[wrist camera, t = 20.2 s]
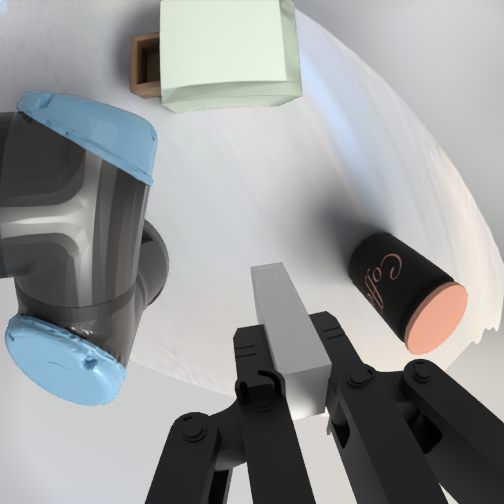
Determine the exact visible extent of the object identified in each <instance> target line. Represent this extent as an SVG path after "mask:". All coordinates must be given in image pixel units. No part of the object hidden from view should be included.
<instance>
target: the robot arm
mask: <svg viewBox="0 0 504 504" xmlns="http://www.w3.org/2000/svg"><path fill="white" fill-rule="evenodd" d="M17 109H19V111H18V112H2V113H0V278H8V277H9V278H10V277H14V281H15V288H16V294H17V299H18V305H19V308H18V313H17V314H16V315H15V316H14V317H12V318H11V319H10V320H9V323H8V327H7V329H6V332H5V342H6V346H7V349H8V351H9V354H10V355H11V357H12V359H13V360H14V362H15V363H16V364H17V366H18V367H19V368H20V369H21V370H22V371H23V373H24V374H26V375H27V376H28V377H29V378H30V379H31V380H32V381H33V382H35V383H36V384H37V385H39V386H40V387H41V388H43V389H45V390H46V391H48V392H50V393H51V394H54V395H55V396H57V397H59V398H62V399H64V400H67V401H70V402H73V403H76V404H80V405H87V406H97V405H104V404H107V403H109V402H111V401H113V400H114V399H115V398H116V396H117V395H118V393H119V391H120V387H121V385H122V382H123V381H124V380H125V378H126V375H127V373H126V367H127V363H128V360H129V356H130V353H131V349H132V346H133V342H134V339H135V335H136V332H137V329H138V325H139V322H140V319H141V316H142V313H143V311H144V310H145V309H146V308H147V306H149V305H150V304H151V303H153V302H154V301H155V300H156V299H157V298H158V296H159V295H160V293H161V292H162V290H163V288H164V286H165V283H166V279H167V276H168V271H169V257H168V252H167V249H166V246H165V244H164V242H163V240H162V238H161V236H160V235H159V233H158V232H157V231H156V230H155V228H154V227H153V226H152V225H151V224H149V223H148V222H147V221H146V220H144V218H145V212H146V207H147V201H148V196H149V191H150V186H153V178H152V172H153V166H154V160H155V154H156V149H157V143H158V138H157V134H156V131H155V129H154V127H153V126H152V125H151V124H150V123H149V122H148V121H147V120H145V119H144V118H142V117H140V116H137V115H135V114H133V113H130V112H128V111H125V110H122V109H119V108H116V107H113V106H110V105H107V104H104V103H100V102H97V101H93V100H89V99H85V98H81V97H76V96H72V95H66V94H55V93H46V92H43V91H29V92H26V93H25V94H24V95H23V97H22V98H21V100H20V101H19V102H18V105H17ZM251 275H252V283H253V290H254V298H255V306H256V314H257V318H258V322H259V325H255V326H249V327H243V328H237V331H236V333H235V335H234V337H233V342H234V352H235V361H236V370H237V378H238V379H237V380H236V383H235V392H236V396H237V399H236V400H235V402H234V403H233V404H232V405H231V406H230V407H229V408H227V409H225V410H223V411H221V412H219V413H216V414H213V415H211V416H208V415H207V414H204V413H200V412H191V413H187V414H184V415H182V416H180V417H179V418H178V419H176V420H175V422H174V423H173V425H172V426H171V429H170V432H169V434H168V437H167V440H166V443H165V446H164V449H163V452H162V454H161V457H160V460H159V463H158V466H157V469H156V472H155V475H154V477H153V481H152V483H151V487H150V489H149V492H148V495H147V498H146V501H145V504H226V503H227V498H228V492H229V487H230V482H231V477H232V471H233V467H236V466H238V465H240V464H243V463H245V462H247V466H248V474H249V480H250V486H251V493H252V499H253V504H316V502H315V499H314V495H313V492H312V488H311V485H310V481H309V478H308V474H307V470H306V467H305V464H304V460H303V457H302V453H301V449H300V446H299V442H298V438H297V435H296V431H295V428H294V424H293V421H292V420H297V419H301V418H306V417H310V416H314V415H318V414H322V413H325V407H327V410H328V412H329V415H330V417H329V421H328V426H327V435H330V433H331V432H332V434H333V437H334V440H335V442H336V445H337V448H338V451H339V454H340V456H341V459H342V462H343V465H344V467H345V470H346V473H347V476H348V479H349V481H350V484H351V487H352V490H353V493H354V496H355V498H356V501H357V504H448V501H447V499H446V497H445V495H444V493H443V491H442V489H441V487H440V485H439V483H440V484H441V486H442V487H443V488H444V489H445V490H446V491H447V492H448V493H449V494H450V495H451V496H452V497H453V498H454V499H455V500H456V501H457V502H458V503H459V504H504V423H503V422H502V421H501V420H500V419H499V418H497V417H496V416H495V415H494V414H493V413H492V412H491V411H490V410H489V409H487V408H486V407H485V406H484V405H483V404H482V403H480V402H479V401H478V400H477V399H476V398H475V397H474V396H472V395H471V394H470V393H469V392H468V391H467V390H465V389H464V388H463V387H462V386H460V384H458V383H457V382H456V381H455V380H454V379H452V378H451V377H450V376H449V375H448V374H446V373H445V372H444V371H443V370H442V369H440V368H439V367H438V366H437V365H436V364H434V363H433V362H431V361H429V360H425V359H415V360H413V361H410V362H409V363H408V364H407V365H406V366H405V368H404V370H403V371H394V372H379V371H376V370H375V369H374V368H373V367H371V366H369V365H367V364H364V363H363V362H362V361H361V359H360V357H359V355H358V354H357V352H356V350H355V349H354V347H353V345H352V344H351V342H350V340H349V339H348V337H347V335H345V332H344V330H343V329H342V328H341V325H340V324H339V322H338V320H337V319H336V317H334V316H333V315H331V314H330V313H328V312H327V311H324V312H320V313H315V314H310V315H308V313H307V311H306V309H305V307H304V305H303V303H302V301H301V299H300V297H299V295H298V293H297V291H296V289H295V287H294V285H293V283H292V281H291V279H290V277H289V275H288V273H287V271H286V269H285V267H284V265H283V263H282V262H280V263H274V264H268V265H261V266H255V267H251ZM438 482H439V483H438Z"/></svg>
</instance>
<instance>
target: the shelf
mask: <svg viewBox="0 0 504 504" xmlns="http://www.w3.org/2000/svg"><path fill="white" fill-rule="evenodd" d="M160 73H161V96H162V105H164V106H165V107H167V108H168V109H170V110H171V111H173V112H174V113H176V114H178V113H185V112H193V111H202V110H212V109H223V108H238V107H261V106H280V105H282V104H285V103H287V102H289V101H291V100H294V99H296V98H298V97H301V96H302V82H301V69H300V57H299V47H298V37H297V28H296V19H295V11H294V3H293V0H163V1H161V6H160Z"/></svg>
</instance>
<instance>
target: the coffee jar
mask: <svg viewBox="0 0 504 504" xmlns="http://www.w3.org/2000/svg"><path fill="white" fill-rule="evenodd" d="M350 275H351V279H352V281H353V284H354V285H355V286H356V287H357V288H358V289H359V291H360V292H361V293H362V294H363V295H364V297H365V298H366V299H367V300H368V301H369V302H370V304H371V305H372V306H373V307H374V308H375V310H376V311H377V312H378V313H379V314H380V316H381V317H382V318H383V319H384V321H385V322H386V323H387V324H388V325H389V327H390V328H391V329H392V330H393V332H394V333H395V334H396V335H397V337H398V338H399V339H400V340H401V341H402V342H404V343H405V346H406V347H407V349H408V350H409V351H410V352H411V353H412V354H415V355H421V354H425V353H428V352H430V351H432V350H434V349H436V348H437V347H438V346H439V345H441V344H442V343H443V342H444V341H445V340H446V339H447V338H448V337H449V336H450V335H451V334H452V333H453V331H454V330H455V329H456V327H457V326H458V324H459V323H460V321H461V319H462V317H463V315H464V312H465V309H466V306H467V296H468V295H467V292H466V289H465V287H463V286H462V285H460V284H459V283H457V282H455V281H454V279H453V278H452V277H451V276H449V275H448V274H447V273H445V272H444V271H443V270H441V269H440V268H439V267H437V266H436V265H435V264H433V263H432V262H431V261H429V260H428V259H426V258H425V257H424V256H422V255H421V254H419V253H418V252H416V251H415V250H414V249H412V248H411V247H409V246H408V245H406V244H405V243H403V242H402V241H400V240H399V239H397V238H396V237H394V236H392V235H391V234H384V233H381V234H377V235H373V236H371V237H369V238H367V239H366V240H364V241H363V242H362V243H361V244H360V245H359V246H358V247H357V249H356V251H355V253H354V254H353V257H352V261H351V265H350Z"/></svg>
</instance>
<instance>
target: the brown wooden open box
mask: <svg viewBox="0 0 504 504" xmlns="http://www.w3.org/2000/svg"><path fill="white" fill-rule="evenodd" d="M130 92H132V93H134V94H136V95H138V96H140V97H141V98H143V99H144V98H150V97H156V96H161V73H160V32H156V33H151V34H146V35H141V36H136V37H132V38H131V60H130Z"/></svg>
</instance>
